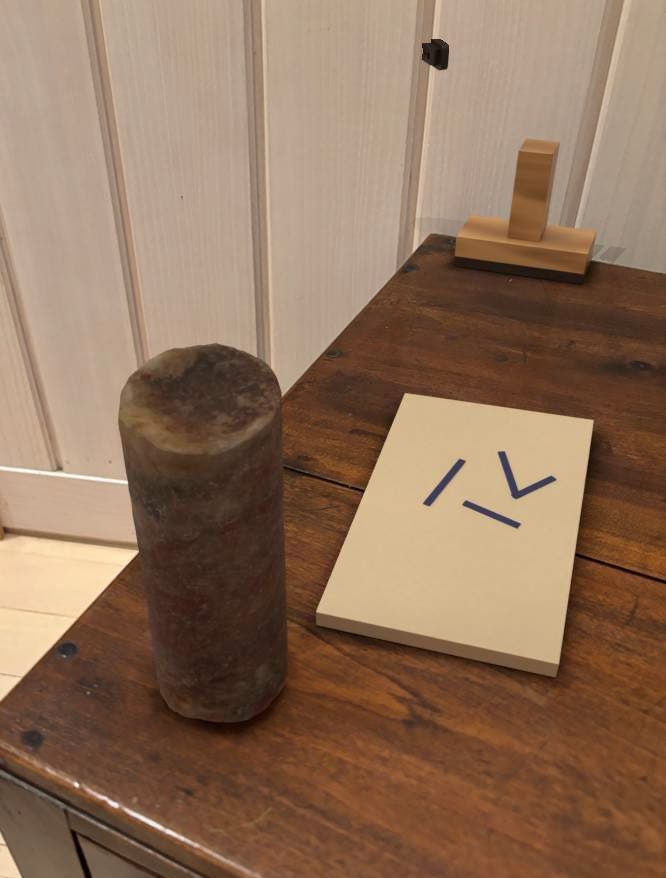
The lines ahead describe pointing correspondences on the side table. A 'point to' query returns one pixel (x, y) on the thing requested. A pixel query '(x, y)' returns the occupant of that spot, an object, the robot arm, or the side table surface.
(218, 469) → the dark brown cylinder
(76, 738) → the side table surface
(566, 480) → the board
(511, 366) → the side table surface
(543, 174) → the eraser
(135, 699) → the side table surface
